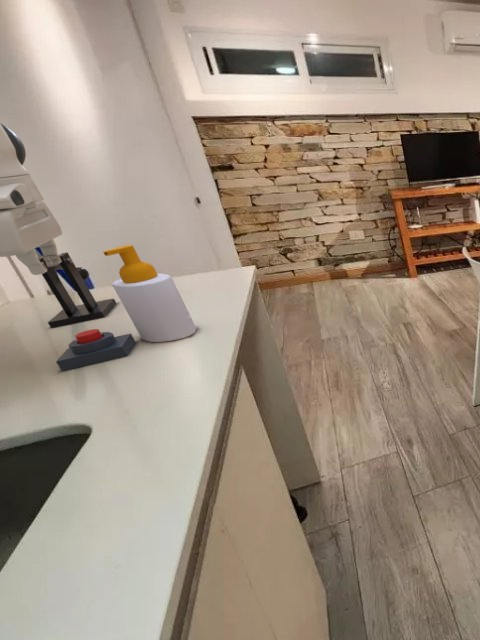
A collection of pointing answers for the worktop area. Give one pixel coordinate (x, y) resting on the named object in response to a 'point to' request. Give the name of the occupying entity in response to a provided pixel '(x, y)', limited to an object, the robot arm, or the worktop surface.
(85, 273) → the lever
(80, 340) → the button
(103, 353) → the button block
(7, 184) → the robot arm
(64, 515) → the worktop surface
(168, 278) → the soap bottle
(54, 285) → the black stand
